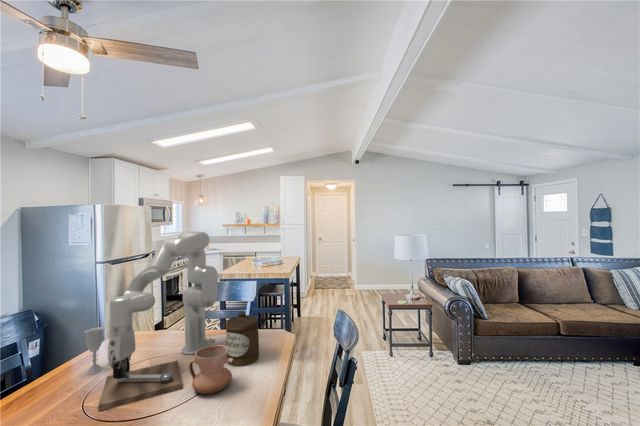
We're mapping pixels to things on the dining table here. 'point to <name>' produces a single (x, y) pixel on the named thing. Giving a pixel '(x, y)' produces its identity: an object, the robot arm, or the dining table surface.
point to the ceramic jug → (211, 369)
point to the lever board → (139, 386)
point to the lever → (143, 376)
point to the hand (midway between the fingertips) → (121, 374)
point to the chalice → (94, 346)
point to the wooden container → (242, 339)
